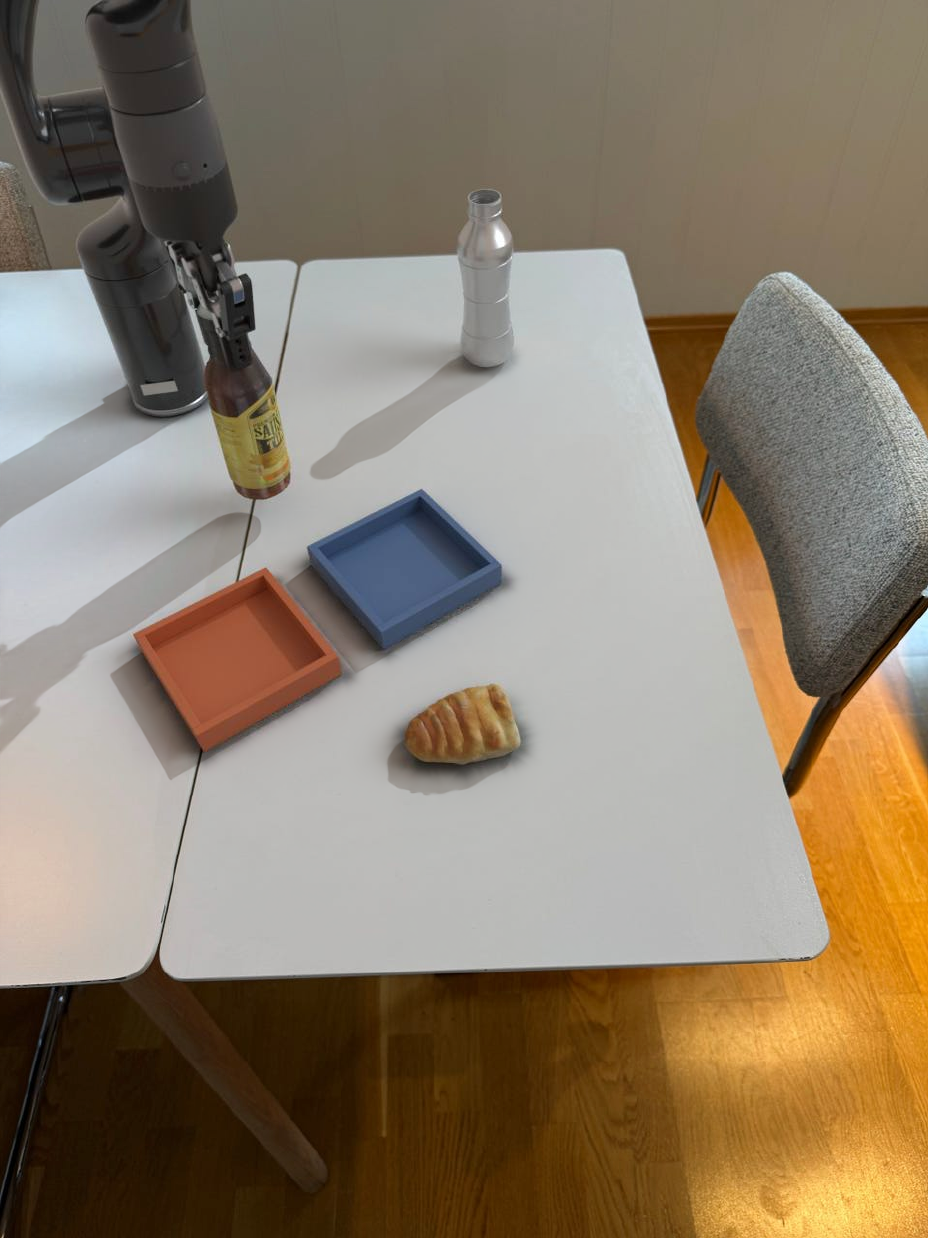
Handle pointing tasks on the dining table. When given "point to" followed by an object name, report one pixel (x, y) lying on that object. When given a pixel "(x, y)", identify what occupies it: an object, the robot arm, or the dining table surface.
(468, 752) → the pastry
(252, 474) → the sauce bottle
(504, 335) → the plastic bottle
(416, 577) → the blue tray
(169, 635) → the terracotta tray
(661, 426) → the dining table surface
